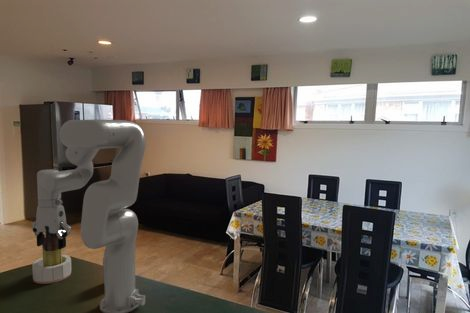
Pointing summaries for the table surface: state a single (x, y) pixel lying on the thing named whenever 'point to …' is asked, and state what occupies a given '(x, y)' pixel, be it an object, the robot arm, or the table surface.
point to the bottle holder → (51, 271)
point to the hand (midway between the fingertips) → (51, 246)
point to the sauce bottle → (51, 249)
